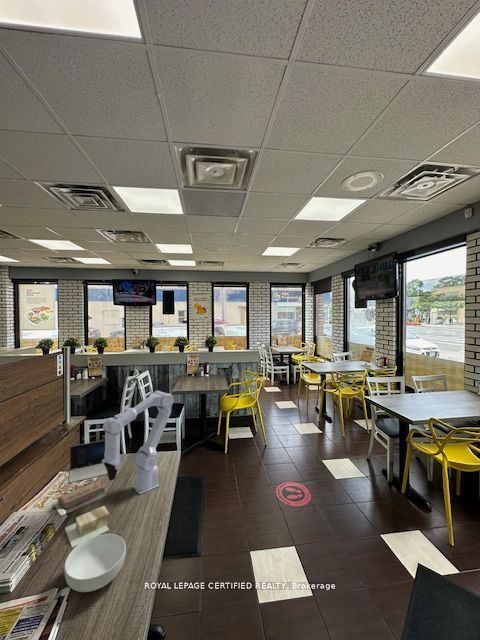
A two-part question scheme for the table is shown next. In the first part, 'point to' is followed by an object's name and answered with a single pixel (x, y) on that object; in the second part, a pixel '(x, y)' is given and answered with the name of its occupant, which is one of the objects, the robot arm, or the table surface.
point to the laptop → (87, 461)
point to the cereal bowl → (95, 562)
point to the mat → (76, 539)
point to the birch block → (92, 521)
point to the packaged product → (80, 497)
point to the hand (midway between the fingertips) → (112, 479)
